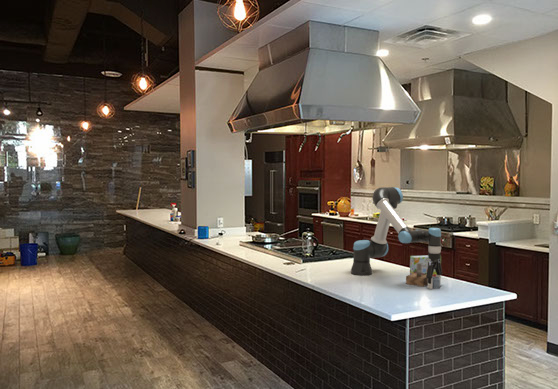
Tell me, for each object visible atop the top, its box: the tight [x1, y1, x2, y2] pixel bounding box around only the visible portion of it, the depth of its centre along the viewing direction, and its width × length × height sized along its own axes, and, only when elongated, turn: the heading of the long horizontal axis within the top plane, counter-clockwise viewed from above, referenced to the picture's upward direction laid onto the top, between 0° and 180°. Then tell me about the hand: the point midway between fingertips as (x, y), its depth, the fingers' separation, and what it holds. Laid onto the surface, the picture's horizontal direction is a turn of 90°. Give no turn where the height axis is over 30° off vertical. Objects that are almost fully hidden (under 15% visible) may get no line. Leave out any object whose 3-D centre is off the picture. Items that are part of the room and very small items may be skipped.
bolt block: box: [405, 263, 428, 287], centre depth 316 cm, size 12×12×13 cm
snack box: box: [409, 255, 442, 277], centre depth 336 cm, size 21×6×15 cm, turn 105°
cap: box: [432, 277, 441, 289], centre depth 307 cm, size 7×7×6 cm
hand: (434, 286), depth 307 cm, fingers open, 12 cm apart
